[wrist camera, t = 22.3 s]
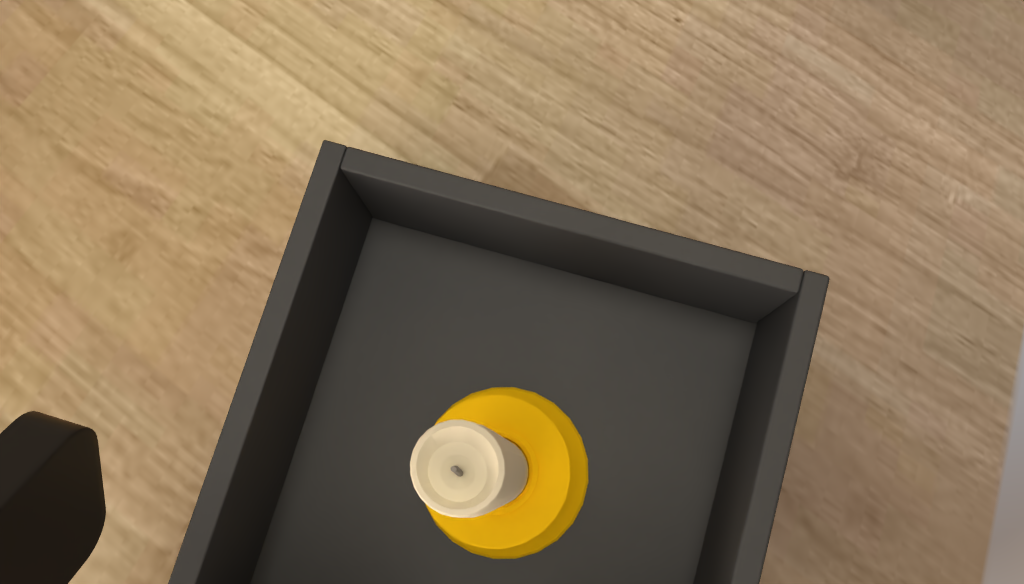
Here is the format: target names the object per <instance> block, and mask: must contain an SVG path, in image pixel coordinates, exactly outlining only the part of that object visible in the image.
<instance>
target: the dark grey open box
mask: <svg viewBox="0 0 1024 584" xmlns="http://www.w3.org/2000/svg"><path fill="white" fill-rule="evenodd" d="M828 284H829V277H828V276H826V275H823V274H819V273H815V272H812V271H808V270H806V271H804V272H803V270H802V269H801V268H797V267H793V266H789V265H786V264H782V263H778V262H775V261H771V260H767V259H763V258H760V257H756V256H752V255H749V254H745V253H741V252H737V251H734V250H730V249H726V248H723V247H719V246H715V245H711V244H708V243H704V242H700V241H697V240H693V239H689V238H686V237H682V236H678V235H674V234H671V233H667V232H663V231H660V230H656V229H652V228H648V227H645V226H641V225H637V224H634V223H630V222H626V221H622V220H619V219H615V218H611V217H608V216H604V215H600V214H596V213H593V212H589V211H585V210H582V209H578V208H574V207H570V206H567V205H563V204H559V203H556V202H552V201H548V200H545V199H541V198H537V197H533V196H530V195H526V194H522V193H519V192H515V191H511V190H507V189H504V188H500V187H496V186H493V185H489V184H485V183H481V182H478V181H474V180H470V179H467V178H463V177H459V176H455V175H452V174H448V173H444V172H441V171H437V170H433V169H430V168H426V167H422V166H418V165H415V164H411V163H407V162H404V161H400V160H396V159H392V158H389V157H385V156H381V155H378V154H374V153H370V152H366V151H363V150H359V149H355V148H352V147H346V146H345V145H341V144H338V143H334V142H330V141H326V140H324V141H323V143H322V146H321V149H320V152H319V155H318V157H317V160H316V163H315V166H314V169H313V172H312V175H311V177H310V180H309V183H308V186H307V189H306V192H305V195H304V197H303V200H302V203H301V206H300V209H299V212H298V215H297V217H296V220H295V223H294V226H293V229H292V232H291V235H290V237H289V240H288V243H287V246H286V249H285V252H284V255H283V257H282V260H281V263H280V266H279V269H278V272H277V275H276V277H275V280H274V283H273V286H272V289H271V292H270V295H269V297H268V300H267V303H266V306H265V309H264V312H263V315H262V317H261V320H260V323H259V326H258V329H257V332H256V335H255V337H254V340H253V343H252V346H251V349H250V352H249V355H248V357H247V360H246V363H245V366H244V369H243V372H242V375H241V377H240V380H239V383H238V386H237V389H236V392H235V395H234V397H233V400H232V403H231V406H230V409H229V412H228V415H227V417H226V420H225V423H224V426H223V429H222V432H221V435H220V437H219V440H218V443H217V446H216V449H215V452H214V455H213V457H212V460H211V463H210V466H209V469H208V472H207V475H206V477H205V480H204V483H203V486H202V489H201V492H200V495H199V497H198V500H197V503H196V506H195V509H194V512H193V515H192V517H191V520H190V523H189V526H188V529H187V532H186V534H185V537H184V540H183V543H182V546H181V549H180V552H179V554H178V557H177V560H176V563H175V566H174V569H173V572H172V574H171V577H170V580H169V583H168V584H759V582H760V577H761V573H762V569H763V564H764V560H765V556H766V551H767V547H768V543H769V538H770V534H771V530H772V525H773V521H774V517H775V513H776V508H777V504H778V500H779V495H780V491H781V487H782V482H783V478H784V474H785V469H786V465H787V461H788V456H789V452H790V448H791V443H792V439H793V435H794V430H795V426H796V422H797V418H798V413H799V409H800V405H801V400H802V396H803V392H804V387H805V383H806V379H807V374H808V370H809V366H810V361H811V357H812V353H813V348H814V344H815V340H816V335H817V331H818V327H819V323H820V318H821V314H822V310H823V305H824V301H825V297H826V292H827V288H828ZM495 387H515V388H519V389H523V390H527V391H531V392H535V393H537V394H539V395H540V396H542V397H544V398H546V399H547V400H549V401H551V402H553V403H554V404H555V405H556V406H558V407H559V408H560V409H561V410H562V411H563V412H564V413H565V414H566V415H567V416H568V417H569V418H570V419H571V421H572V423H573V424H574V426H575V428H576V429H577V431H578V433H579V434H580V436H581V438H582V441H583V445H584V448H585V452H586V455H587V458H588V485H587V490H586V494H585V498H584V503H583V505H582V507H581V509H580V511H579V513H578V515H577V516H576V518H575V520H574V522H573V524H572V525H571V526H570V527H569V528H568V529H567V530H566V531H565V532H564V534H563V535H562V536H561V537H560V538H559V539H558V540H557V541H555V542H554V543H552V544H550V545H549V546H547V547H546V548H544V549H542V550H541V551H539V552H537V553H534V554H530V555H527V556H523V557H520V558H516V559H492V558H489V557H485V556H481V555H477V554H474V553H471V552H469V551H468V550H466V549H464V548H462V547H461V546H459V545H457V544H456V543H454V542H452V541H451V540H450V539H449V538H448V537H447V535H446V534H445V533H444V532H443V531H442V530H441V529H440V528H439V527H438V526H437V525H436V523H435V521H434V520H433V518H432V516H431V514H430V512H429V511H428V509H427V507H426V505H425V502H424V501H422V500H421V498H420V497H419V495H418V493H417V492H416V490H415V488H414V486H413V482H412V479H411V475H410V460H411V456H412V452H413V449H414V447H415V445H416V443H417V441H418V440H419V438H420V437H421V436H422V435H423V434H424V433H425V432H426V431H427V430H428V429H429V428H431V427H433V426H434V425H435V423H436V422H437V420H438V419H439V418H440V417H441V416H442V415H443V414H444V413H445V412H446V411H447V410H448V409H449V408H450V407H451V406H452V405H453V404H455V403H456V402H458V401H460V400H461V399H463V398H465V397H466V396H468V395H470V394H471V393H475V392H478V391H482V390H485V389H489V388H495Z"/></svg>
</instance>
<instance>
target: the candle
mask: <svg viewBox="0 0 1024 584" xmlns="http://www.w3.org/2000/svg"><path fill="white" fill-rule="evenodd" d="M410 475H411V479H412V482H413V486H414V488H415V490H416V492H417V493H418V495H419V497H420V498H421V500H422V501H424V502H425V505H426V507H427V509H428V511H429V512H430V514H431V516H432V518H433V520H434V521H435V523H436V525H437V526H438V527H439V528H440V529H441V530H442V531H443V532H444V533H445V534H446V535H447V537H448V538H449V539H450V540H451V541H452V542H454V543H456V544H457V545H459V546H461V547H462V548H464V549H466V550H468V551H469V552H471V553H474V554H477V555H481V556H485V557H489V558H492V559H516V558H520V557H523V556H527V555H530V554H534V553H537V552H539V551H541V550H542V549H544V548H546V547H547V546H549V545H550V544H552V543H554V542H555V541H557V540H558V539H559V538H560V537H561V536H562V535H563V534H564V532H565V531H566V530H567V529H568V528H569V527H570V526H571V525H572V524H573V522H574V520H575V518H576V516H577V515H578V513H579V511H580V509H581V507H582V505H583V503H584V498H585V494H586V490H587V485H588V458H587V455H586V452H585V448H584V445H583V441H582V438H581V436H580V434H579V433H578V431H577V429H576V428H575V426H574V424H573V423H572V421H571V419H570V418H569V417H568V416H567V415H566V414H565V413H564V412H563V411H562V410H561V409H560V408H559V407H558V406H556V405H555V404H554V403H553V402H551V401H549V400H547V399H546V398H544V397H542V396H540V395H539V394H537V393H535V392H531V391H527V390H523V389H519V388H515V387H495V388H489V389H485V390H482V391H478V392H475V393H471V394H470V395H468V396H466V397H465V398H463V399H461V400H460V401H458V402H456V403H455V404H453V405H452V406H451V407H450V408H449V409H448V410H447V411H446V412H445V413H444V414H443V415H442V416H441V417H440V418H439V419H438V420H437V422H436V423H435V425H434V426H433V427H431V428H429V429H428V430H427V431H426V432H425V433H424V434H423V435H422V436H421V437H420V438H419V440H418V441H417V443H416V445H415V447H414V449H413V452H412V456H411V460H410Z"/></svg>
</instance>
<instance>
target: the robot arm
mask: <svg viewBox="0 0 1024 584" xmlns="http://www.w3.org/2000/svg"><path fill="white" fill-rule="evenodd" d="M105 515H106V507H105V498H104V490H103V481H102V473H101V464H100V456H99V447H98V440H97V436H96V433H95V432H94V431H93V430H92V429H90V428H88V427H85V426H81V425H78V424H75V423H72V422H69V421H65V420H62V419H59V418H56V417H53V416H49V415H46V414H43V413H40V412H35V411H32V412H27V413H25V414H23V415H21V416H20V417H18V418H17V419H16V420H15V421H13V422H12V423H11V424H10V425H9V426H8V427H7V428H6V429H5V430H4V431H3V432H2V433H1V434H0V584H68V583H69V581H70V580H71V579H72V578H73V576H74V575H75V574H76V573H77V571H78V570H79V569H80V568H81V566H82V565H83V564H84V563H85V561H86V560H87V559H88V557H89V556H90V554H91V553H92V551H93V549H94V548H95V546H96V544H97V542H98V540H99V537H100V535H101V532H102V529H103V526H104V521H105Z"/></svg>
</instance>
